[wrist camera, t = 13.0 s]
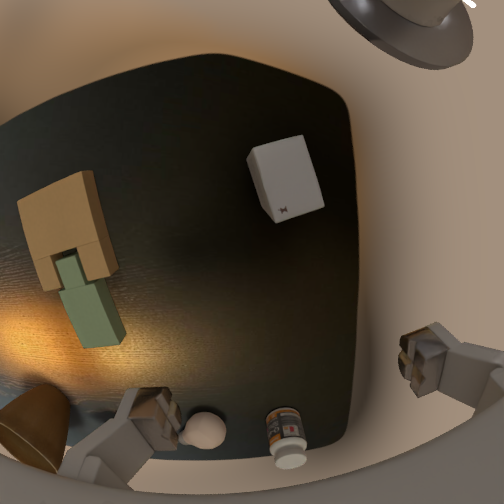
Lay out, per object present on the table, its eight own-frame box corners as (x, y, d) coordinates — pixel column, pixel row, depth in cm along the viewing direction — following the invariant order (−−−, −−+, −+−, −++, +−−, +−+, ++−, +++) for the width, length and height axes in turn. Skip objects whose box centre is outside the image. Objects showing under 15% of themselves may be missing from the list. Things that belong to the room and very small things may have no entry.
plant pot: (27, 354, 38) (-18, 405, 22) (92, 398, 41) (60, 462, 25) (25, 395, 41) (-8, 442, 26) (81, 432, 44) (56, 486, 28)
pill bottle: (267, 406, 42) (273, 453, 32) (301, 405, 42) (313, 450, 33) (264, 427, 43) (269, 471, 34) (296, 425, 44) (306, 469, 34)
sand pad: (29, 198, 31) (16, 201, 28) (92, 170, 31) (81, 170, 28) (54, 284, 35) (43, 291, 32) (119, 268, 34) (110, 276, 32)
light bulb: (189, 461, 39) (226, 453, 35) (160, 440, 39) (191, 429, 34) (203, 436, 45) (239, 422, 41) (176, 415, 45) (209, 399, 40)
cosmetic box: (296, 196, 33) (326, 209, 22) (261, 207, 33) (274, 226, 22) (280, 146, 32) (304, 133, 20) (245, 157, 32) (249, 148, 20)
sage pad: (59, 257, 34) (47, 263, 31) (94, 246, 33) (83, 253, 31) (91, 338, 37) (83, 348, 34) (126, 333, 37) (119, 344, 34)
